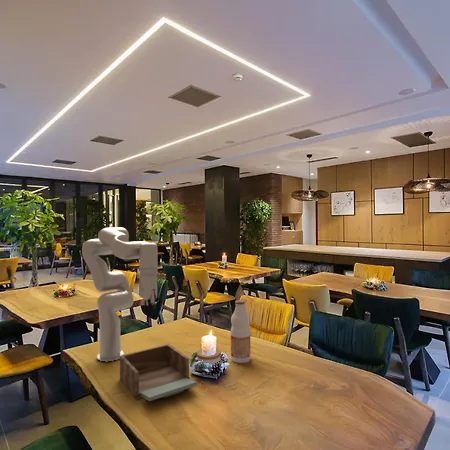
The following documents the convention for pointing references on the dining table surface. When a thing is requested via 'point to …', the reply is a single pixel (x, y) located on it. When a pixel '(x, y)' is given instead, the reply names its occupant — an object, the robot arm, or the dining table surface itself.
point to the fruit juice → (240, 334)
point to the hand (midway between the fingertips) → (148, 314)
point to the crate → (152, 368)
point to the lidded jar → (209, 357)
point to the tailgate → (168, 389)
